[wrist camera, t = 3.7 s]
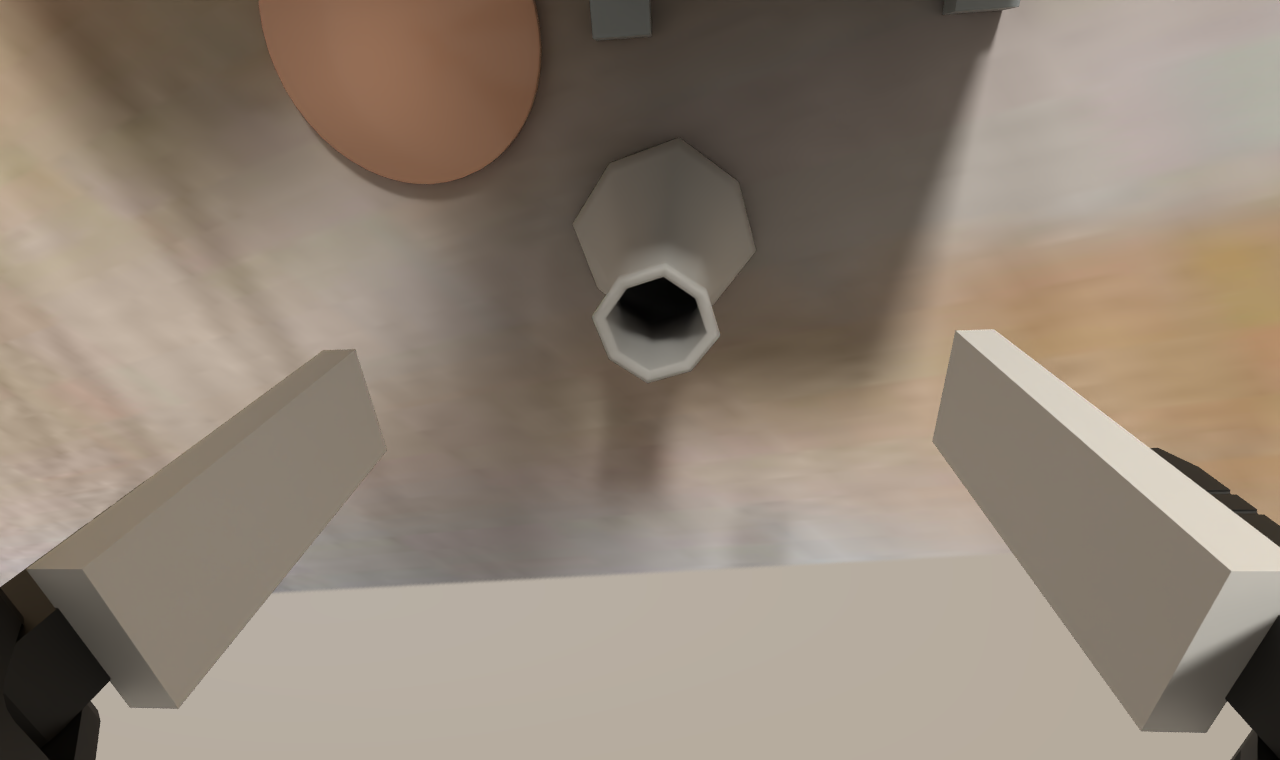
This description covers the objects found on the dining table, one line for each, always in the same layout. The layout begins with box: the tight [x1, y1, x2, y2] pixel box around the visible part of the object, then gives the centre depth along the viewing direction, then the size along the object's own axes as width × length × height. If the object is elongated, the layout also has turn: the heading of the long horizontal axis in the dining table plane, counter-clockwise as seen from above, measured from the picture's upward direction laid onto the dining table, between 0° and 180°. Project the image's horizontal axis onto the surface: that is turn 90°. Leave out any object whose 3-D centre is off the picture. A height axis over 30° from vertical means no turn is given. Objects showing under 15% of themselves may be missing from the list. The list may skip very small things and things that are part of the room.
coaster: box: [259, 0, 542, 184], centre depth 20 cm, size 10×10×1 cm
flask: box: [573, 138, 756, 383], centre depth 19 cm, size 7×7×10 cm
